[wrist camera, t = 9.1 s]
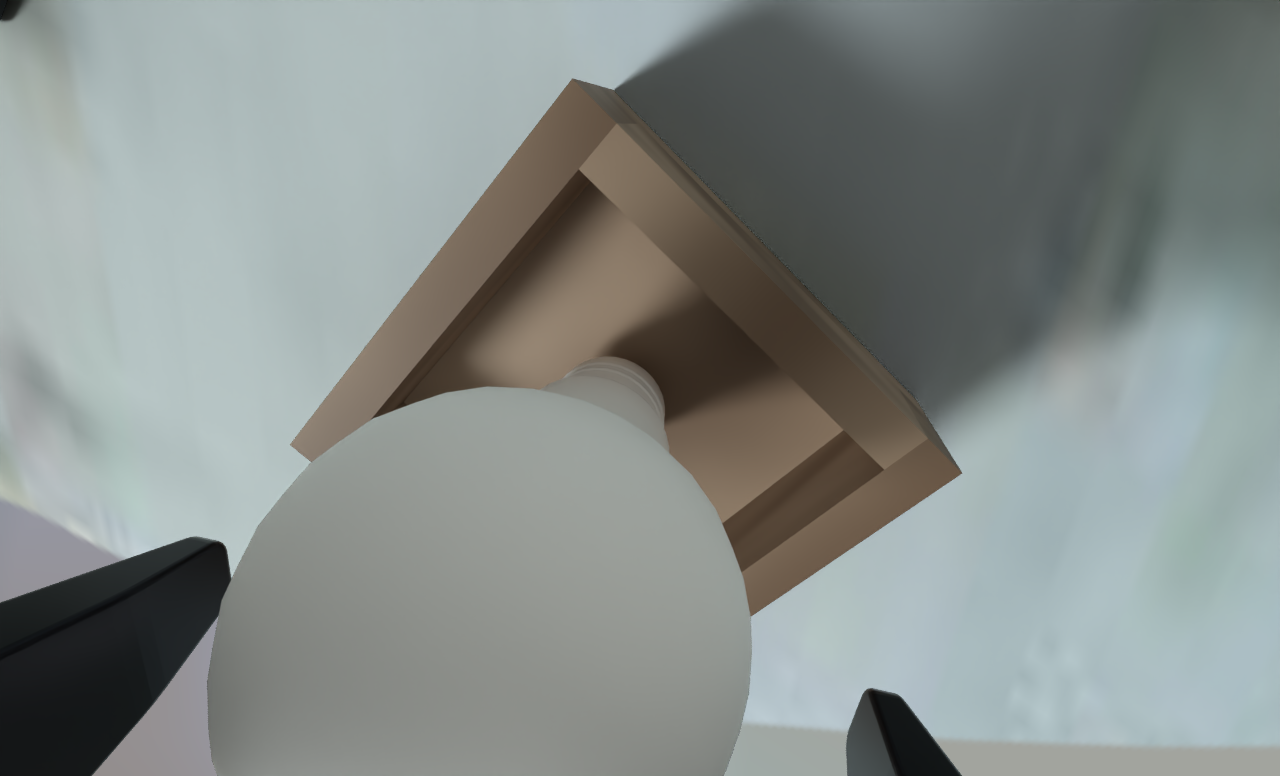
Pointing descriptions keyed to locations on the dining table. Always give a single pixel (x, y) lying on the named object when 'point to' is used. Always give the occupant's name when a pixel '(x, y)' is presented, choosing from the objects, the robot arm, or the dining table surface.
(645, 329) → the brown square tray
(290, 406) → the dining table surface
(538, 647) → the lightbulb
